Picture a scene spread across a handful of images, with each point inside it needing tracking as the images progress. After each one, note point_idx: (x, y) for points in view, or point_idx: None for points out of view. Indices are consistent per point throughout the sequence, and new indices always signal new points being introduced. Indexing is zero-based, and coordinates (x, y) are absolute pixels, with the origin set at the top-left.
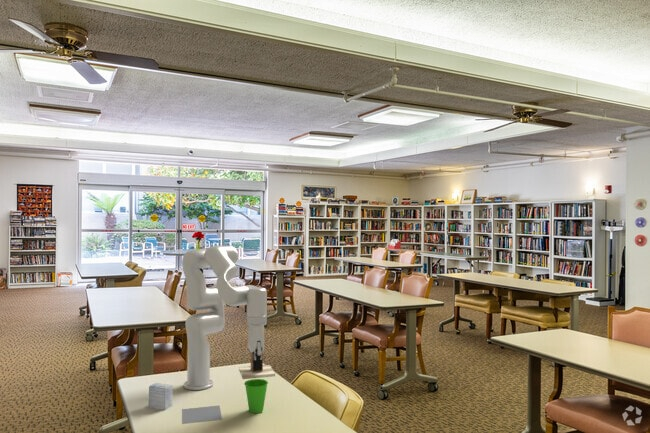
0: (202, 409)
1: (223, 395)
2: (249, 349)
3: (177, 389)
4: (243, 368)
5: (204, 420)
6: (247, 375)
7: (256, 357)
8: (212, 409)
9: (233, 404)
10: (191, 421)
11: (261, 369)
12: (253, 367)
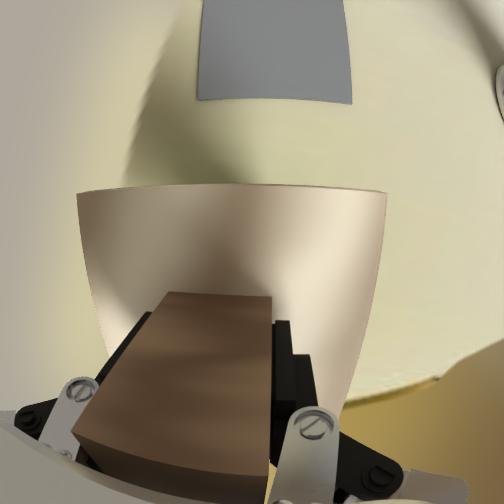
0: (323, 40)
1: (451, 149)
2: (106, 490)
3: (500, 47)
4: (328, 231)
5: (208, 42)
6: (93, 236)
7: (36, 404)
8: (314, 71)
9: (358, 162)
10: (215, 8)
11: None
12: (137, 324)
